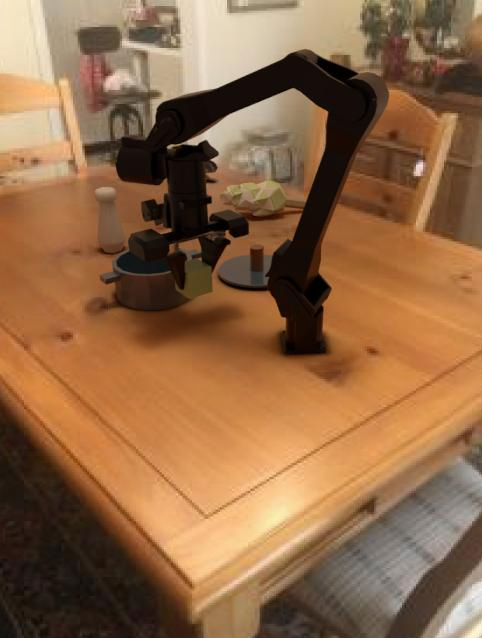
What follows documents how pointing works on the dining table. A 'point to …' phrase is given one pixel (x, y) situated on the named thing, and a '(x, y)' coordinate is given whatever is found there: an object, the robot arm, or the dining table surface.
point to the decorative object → (260, 198)
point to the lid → (247, 269)
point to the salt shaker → (109, 221)
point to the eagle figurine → (210, 168)
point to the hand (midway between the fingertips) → (193, 285)
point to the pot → (145, 281)
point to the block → (196, 279)
